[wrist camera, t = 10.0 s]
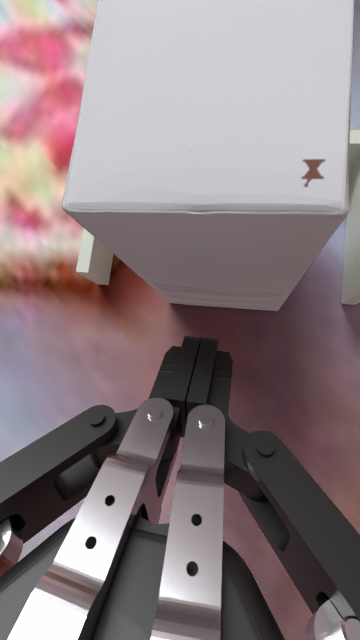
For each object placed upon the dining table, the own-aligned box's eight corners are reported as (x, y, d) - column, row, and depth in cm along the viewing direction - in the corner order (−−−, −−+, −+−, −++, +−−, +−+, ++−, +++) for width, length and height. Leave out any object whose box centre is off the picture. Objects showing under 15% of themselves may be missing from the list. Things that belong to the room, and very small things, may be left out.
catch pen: (355, 304, 18) (378, 293, 15) (98, 284, 21) (76, 271, 18) (362, 165, 19) (385, 129, 16) (116, 166, 22) (98, 136, 20)
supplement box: (288, 202, 20) (372, -64, 8) (279, 314, 19) (357, 221, 7) (177, 200, 21) (96, -26, 9) (164, 304, 20) (52, 212, 8)
